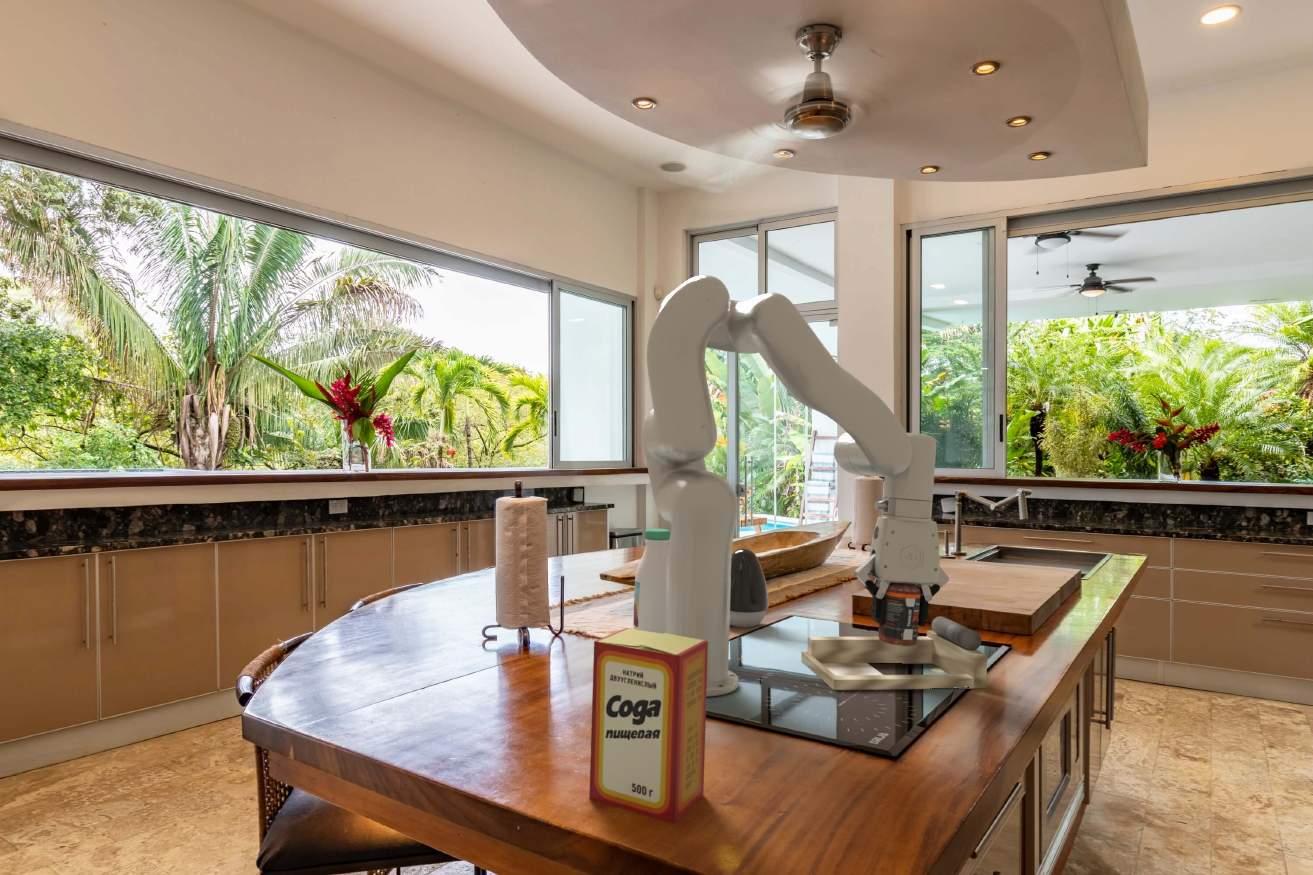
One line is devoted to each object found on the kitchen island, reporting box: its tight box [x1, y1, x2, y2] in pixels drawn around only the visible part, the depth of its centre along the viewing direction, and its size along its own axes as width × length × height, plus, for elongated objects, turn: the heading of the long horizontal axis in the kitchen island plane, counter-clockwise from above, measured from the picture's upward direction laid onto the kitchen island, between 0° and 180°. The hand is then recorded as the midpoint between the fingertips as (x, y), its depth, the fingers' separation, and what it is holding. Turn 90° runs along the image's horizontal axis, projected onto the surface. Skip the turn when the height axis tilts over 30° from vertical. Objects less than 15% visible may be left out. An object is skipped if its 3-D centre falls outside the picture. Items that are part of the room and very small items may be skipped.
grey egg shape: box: [729, 547, 769, 629], centre depth 152 cm, size 10×10×15 cm
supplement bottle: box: [877, 582, 920, 646], centre depth 121 cm, size 6×6×11 cm
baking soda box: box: [588, 627, 708, 824], centre depth 76 cm, size 10×6×16 cm
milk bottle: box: [632, 528, 671, 634], centre depth 137 cm, size 8×8×20 cm
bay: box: [800, 616, 988, 691], centre depth 121 cm, size 24×15×8 cm, turn 97°
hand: (898, 622), depth 121 cm, fingers closed on supplement bottle, 6 cm apart
